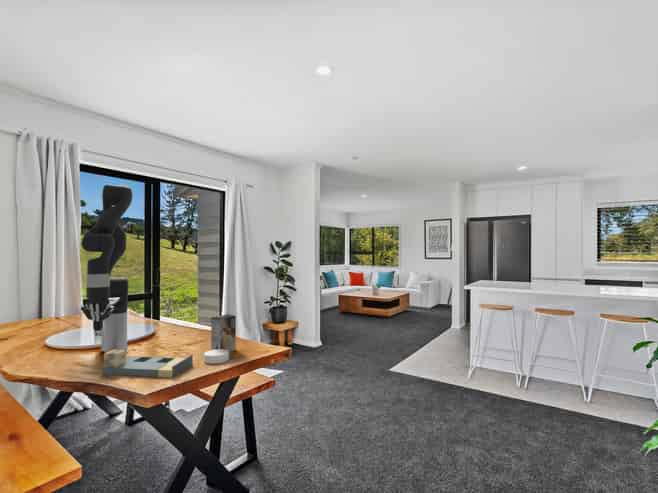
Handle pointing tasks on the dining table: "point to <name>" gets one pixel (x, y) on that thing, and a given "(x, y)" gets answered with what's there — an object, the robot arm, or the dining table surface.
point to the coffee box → (223, 332)
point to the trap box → (151, 366)
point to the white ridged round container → (216, 356)
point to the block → (114, 358)
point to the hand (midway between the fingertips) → (97, 330)
